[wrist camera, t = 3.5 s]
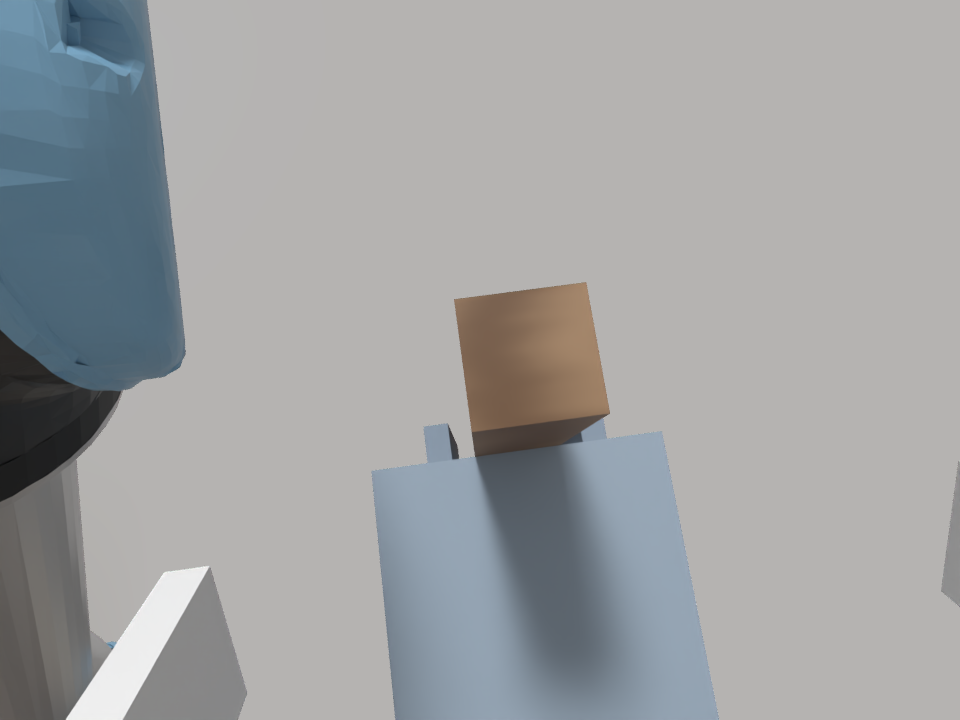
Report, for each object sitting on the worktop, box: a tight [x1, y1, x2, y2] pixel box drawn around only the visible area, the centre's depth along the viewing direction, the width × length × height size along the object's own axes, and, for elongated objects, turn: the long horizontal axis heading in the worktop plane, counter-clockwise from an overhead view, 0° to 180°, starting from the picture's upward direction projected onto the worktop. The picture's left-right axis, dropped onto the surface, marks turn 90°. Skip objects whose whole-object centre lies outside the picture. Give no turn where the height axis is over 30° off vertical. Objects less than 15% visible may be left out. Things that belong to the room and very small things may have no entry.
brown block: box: [454, 282, 610, 457], centre depth 28 cm, size 4×24×4 cm, turn 0°
